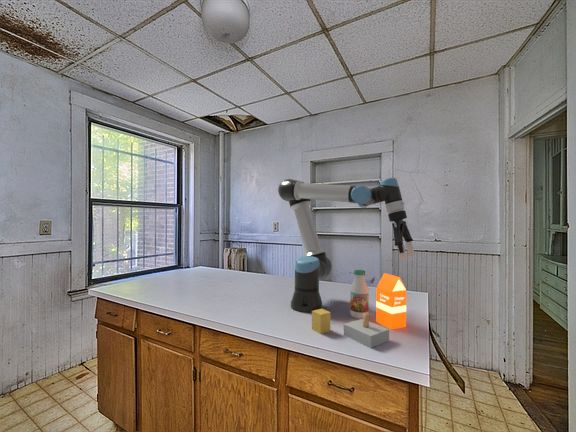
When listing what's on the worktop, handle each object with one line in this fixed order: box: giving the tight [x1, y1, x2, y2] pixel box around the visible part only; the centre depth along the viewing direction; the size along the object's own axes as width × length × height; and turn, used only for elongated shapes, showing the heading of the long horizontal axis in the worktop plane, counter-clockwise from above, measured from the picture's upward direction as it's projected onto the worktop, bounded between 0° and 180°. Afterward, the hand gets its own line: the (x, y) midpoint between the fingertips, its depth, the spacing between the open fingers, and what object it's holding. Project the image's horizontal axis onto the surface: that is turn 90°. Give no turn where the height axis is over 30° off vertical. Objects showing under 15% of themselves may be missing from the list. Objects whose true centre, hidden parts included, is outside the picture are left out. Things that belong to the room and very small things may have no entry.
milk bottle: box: [349, 269, 370, 320], centre depth 121 cm, size 8×8×20 cm
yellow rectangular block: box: [311, 308, 332, 335], centre depth 105 cm, size 5×5×7 cm
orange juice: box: [375, 272, 407, 330], centre depth 112 cm, size 8×9×20 cm
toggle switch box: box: [343, 312, 390, 349], centre depth 99 cm, size 12×10×8 cm
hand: (408, 258), depth 122 cm, fingers open, 13 cm apart
